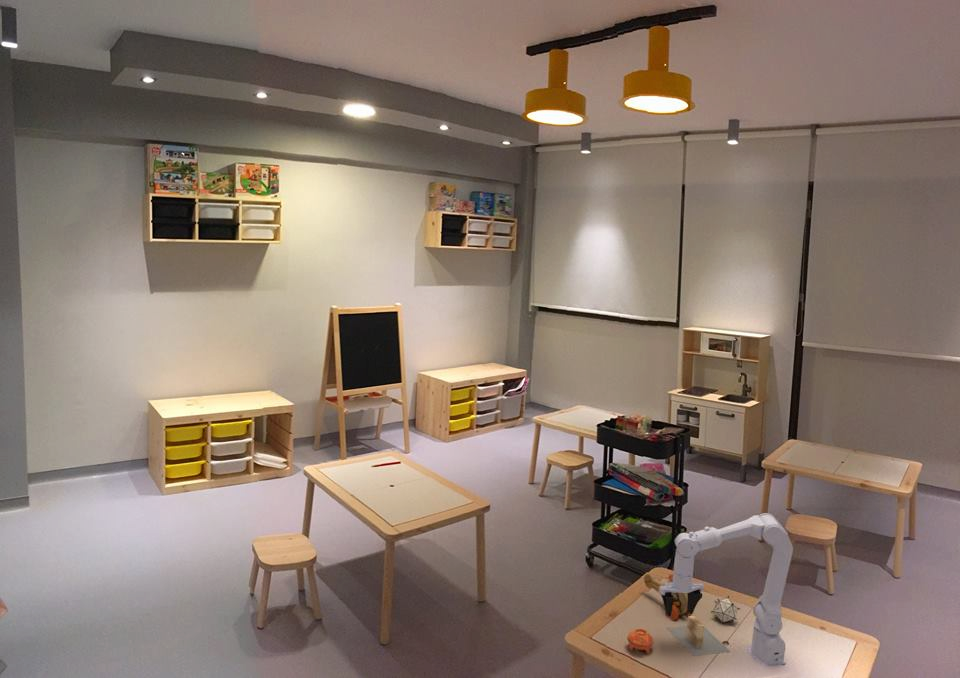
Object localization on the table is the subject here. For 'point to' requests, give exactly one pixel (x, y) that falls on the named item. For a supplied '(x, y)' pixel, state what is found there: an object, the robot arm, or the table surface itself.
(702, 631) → the oak tile
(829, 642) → the table surface
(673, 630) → the rubber mat
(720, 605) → the game die
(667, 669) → the table surface
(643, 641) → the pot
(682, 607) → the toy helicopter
